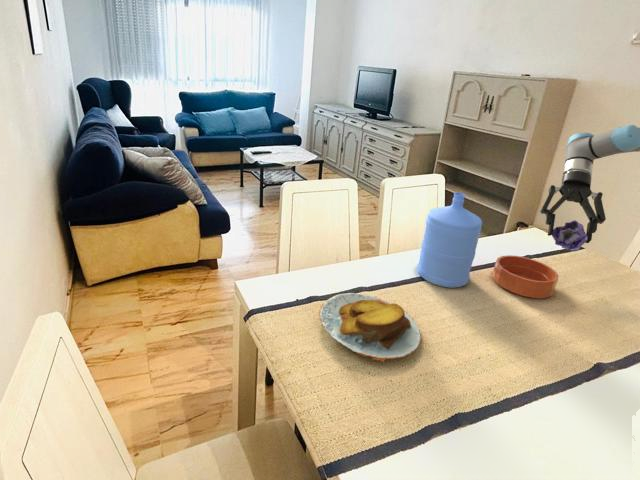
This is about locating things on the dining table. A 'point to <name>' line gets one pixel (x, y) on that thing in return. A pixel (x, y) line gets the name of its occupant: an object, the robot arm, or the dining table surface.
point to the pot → (525, 276)
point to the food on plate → (370, 326)
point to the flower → (570, 236)
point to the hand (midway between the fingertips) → (568, 237)
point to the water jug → (449, 244)
